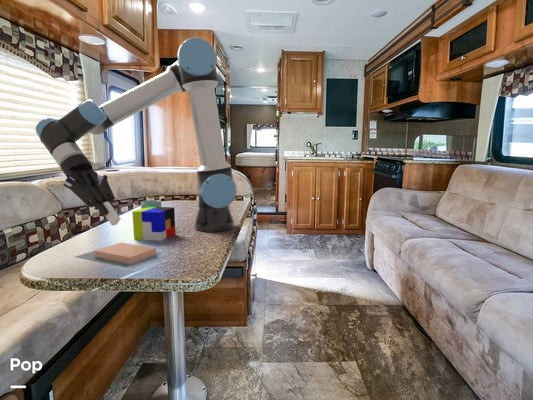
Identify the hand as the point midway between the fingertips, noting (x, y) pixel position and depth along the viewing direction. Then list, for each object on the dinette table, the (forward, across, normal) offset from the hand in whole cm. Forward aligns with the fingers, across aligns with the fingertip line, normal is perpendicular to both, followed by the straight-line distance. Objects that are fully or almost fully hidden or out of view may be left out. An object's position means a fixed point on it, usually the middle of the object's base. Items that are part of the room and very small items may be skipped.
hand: (116, 222), depth 93 cm
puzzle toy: (+3, -20, -12) cm, 24 cm away
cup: (-7, -33, -22) cm, 40 cm away
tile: (+3, 0, -9) cm, 9 cm away
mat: (+7, 0, -7) cm, 10 cm away
